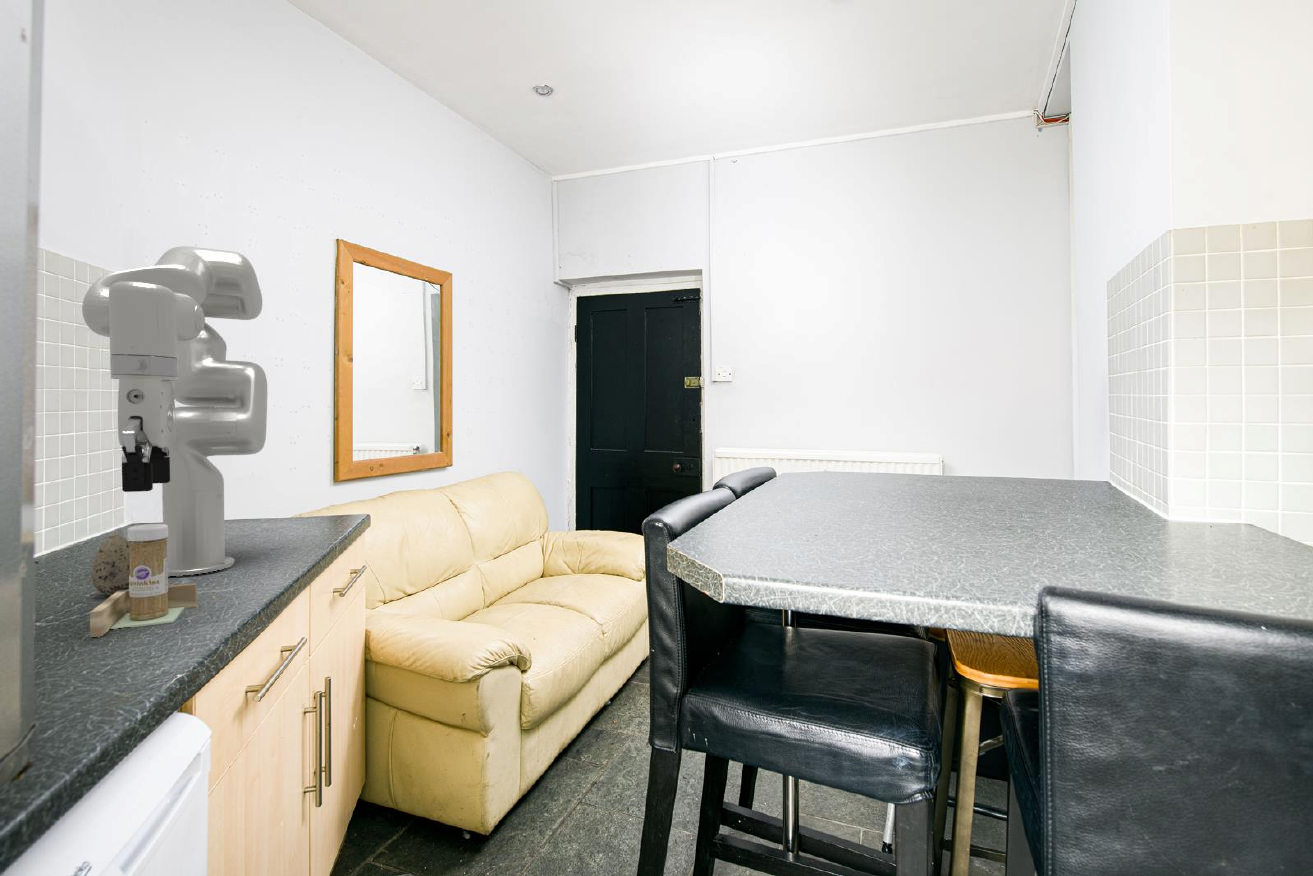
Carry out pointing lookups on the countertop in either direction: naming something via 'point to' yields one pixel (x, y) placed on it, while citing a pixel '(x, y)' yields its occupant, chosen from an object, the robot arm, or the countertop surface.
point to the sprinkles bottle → (148, 571)
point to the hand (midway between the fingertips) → (147, 486)
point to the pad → (167, 618)
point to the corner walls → (120, 605)
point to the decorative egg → (112, 565)
